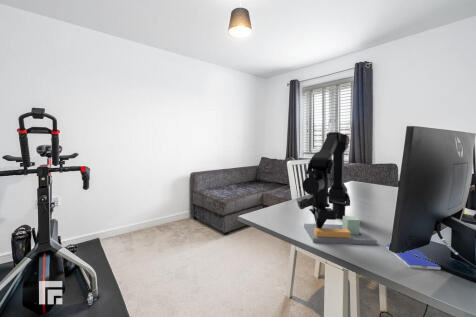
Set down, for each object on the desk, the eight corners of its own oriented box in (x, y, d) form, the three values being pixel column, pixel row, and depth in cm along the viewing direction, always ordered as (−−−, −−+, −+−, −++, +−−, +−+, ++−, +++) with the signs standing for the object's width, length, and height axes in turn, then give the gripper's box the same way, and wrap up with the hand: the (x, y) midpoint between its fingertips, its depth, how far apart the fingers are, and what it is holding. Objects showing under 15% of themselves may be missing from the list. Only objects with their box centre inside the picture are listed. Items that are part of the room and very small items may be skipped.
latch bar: (314, 233, 82) (314, 228, 82) (346, 234, 81) (347, 229, 81) (316, 236, 79) (316, 231, 79) (350, 237, 78) (350, 232, 78)
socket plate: (304, 227, 92) (304, 223, 92) (357, 228, 90) (357, 225, 90) (313, 242, 78) (313, 238, 78) (376, 244, 76) (376, 240, 76)
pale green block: (342, 233, 86) (342, 215, 85) (353, 233, 86) (354, 216, 85) (346, 237, 82) (347, 219, 81) (358, 238, 81) (359, 220, 81)
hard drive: (386, 243, 75) (409, 264, 62) (411, 245, 74) (441, 266, 61) (385, 248, 75) (409, 269, 62) (411, 249, 74) (440, 271, 61)
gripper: (293, 184, 91) (292, 220, 92) (304, 194, 73) (302, 239, 74) (320, 184, 90) (319, 221, 91) (338, 195, 72) (336, 241, 73)
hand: (318, 229), depth 82 cm, fingers closed
